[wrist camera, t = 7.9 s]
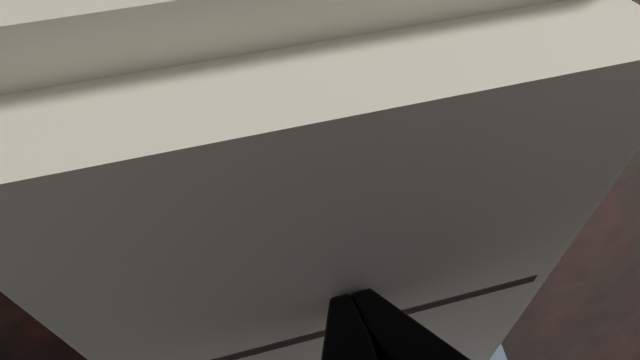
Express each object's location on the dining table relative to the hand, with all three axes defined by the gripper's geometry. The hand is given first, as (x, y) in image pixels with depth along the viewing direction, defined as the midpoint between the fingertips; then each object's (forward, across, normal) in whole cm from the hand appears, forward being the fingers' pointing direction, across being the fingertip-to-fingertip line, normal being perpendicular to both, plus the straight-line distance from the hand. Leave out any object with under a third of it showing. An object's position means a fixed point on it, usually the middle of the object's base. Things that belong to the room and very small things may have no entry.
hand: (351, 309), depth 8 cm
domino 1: (+4, 0, +6) cm, 7 cm away
